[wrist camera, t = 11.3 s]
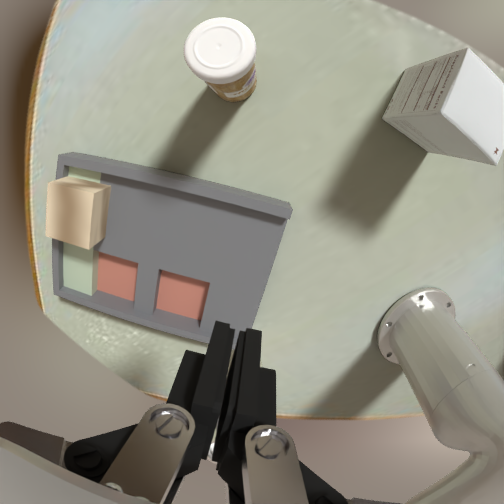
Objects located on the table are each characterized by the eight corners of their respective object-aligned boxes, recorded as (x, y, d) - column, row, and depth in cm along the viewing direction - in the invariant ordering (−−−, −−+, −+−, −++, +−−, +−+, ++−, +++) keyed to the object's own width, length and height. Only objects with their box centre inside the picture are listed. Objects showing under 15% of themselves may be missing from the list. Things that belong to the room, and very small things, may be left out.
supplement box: (450, 104, 28) (522, 102, 16) (427, 153, 30) (497, 169, 18) (404, 66, 27) (468, 44, 15) (378, 118, 29) (440, 114, 17)
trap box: (289, 202, 33) (292, 210, 30) (246, 336, 39) (245, 352, 36) (73, 152, 31) (58, 154, 28) (65, 283, 37) (53, 294, 34)
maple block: (111, 185, 30) (93, 193, 26) (105, 236, 32) (88, 249, 29) (68, 176, 30) (48, 182, 26) (64, 224, 32) (45, 235, 28)
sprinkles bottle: (252, 105, 29) (247, 84, 17) (208, 98, 29) (175, 75, 16) (260, 65, 27) (262, 20, 15) (217, 58, 27) (191, 12, 15)
